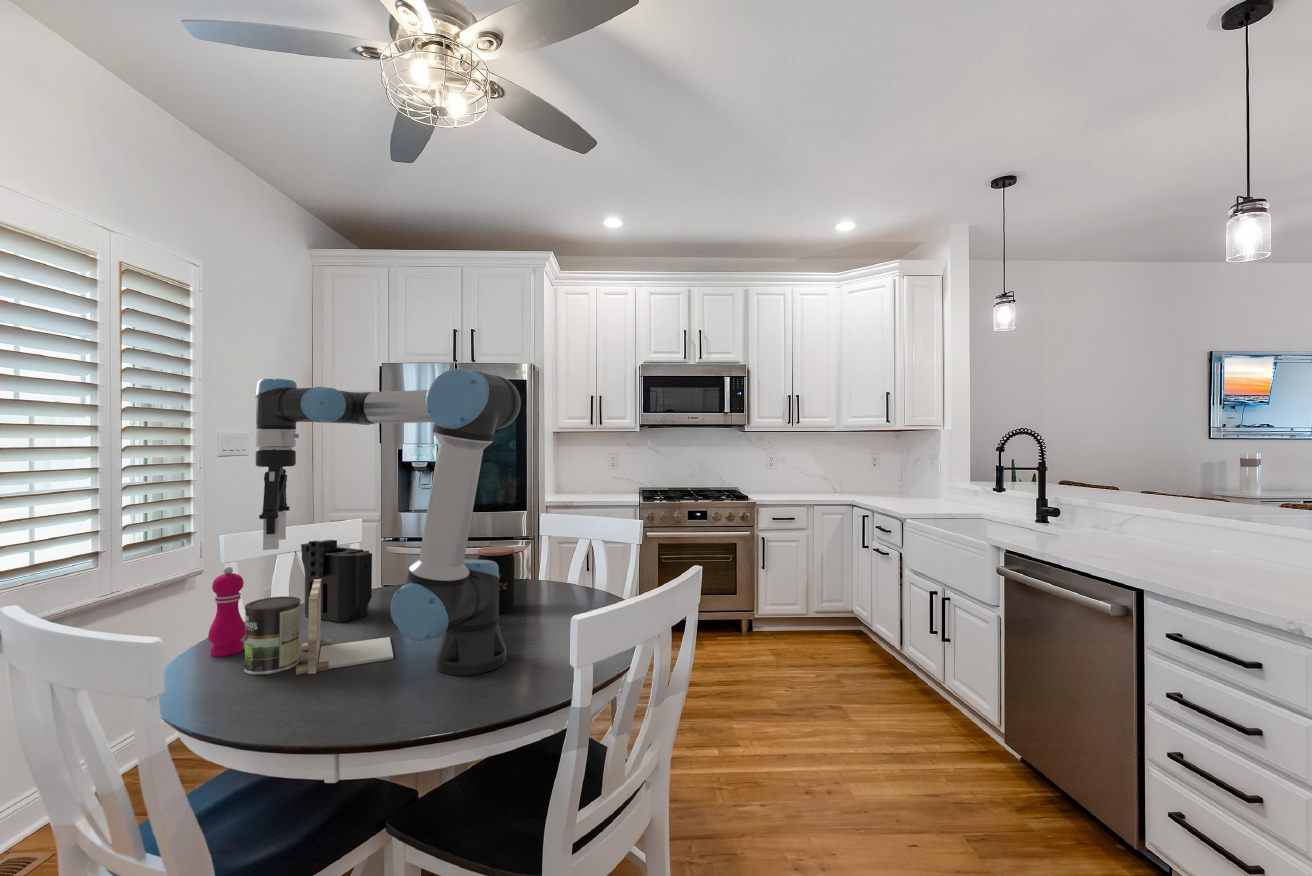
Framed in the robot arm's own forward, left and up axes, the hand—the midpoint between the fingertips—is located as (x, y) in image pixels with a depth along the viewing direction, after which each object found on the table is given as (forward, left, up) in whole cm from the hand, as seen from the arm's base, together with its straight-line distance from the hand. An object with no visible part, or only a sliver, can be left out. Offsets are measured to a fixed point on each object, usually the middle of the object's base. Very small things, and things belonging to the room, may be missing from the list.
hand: (274, 544), depth 130 cm
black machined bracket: (+35, -11, -27) cm, 45 cm away
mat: (0, -16, -27) cm, 31 cm away
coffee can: (0, 0, -27) cm, 27 cm away
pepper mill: (+15, +11, -27) cm, 33 cm away
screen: (+1, -8, -27) cm, 28 cm away
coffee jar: (+22, -53, -27) cm, 64 cm away
